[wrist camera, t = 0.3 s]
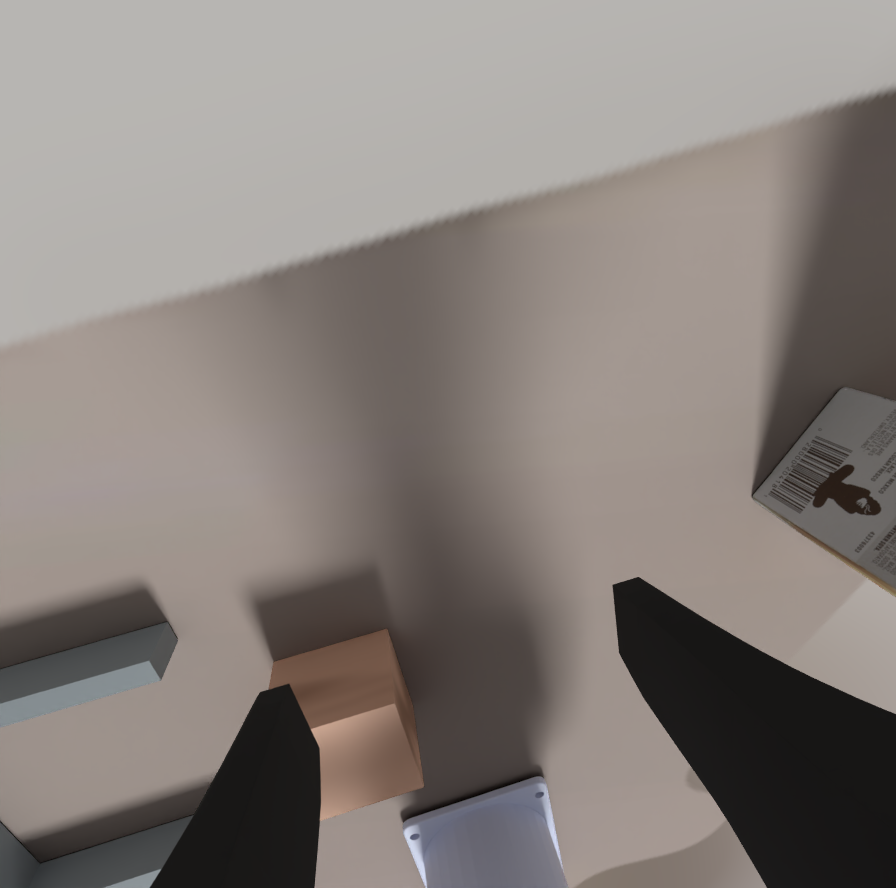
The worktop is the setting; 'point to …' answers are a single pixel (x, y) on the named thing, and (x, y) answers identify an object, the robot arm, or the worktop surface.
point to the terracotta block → (356, 720)
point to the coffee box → (843, 484)
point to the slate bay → (65, 685)
